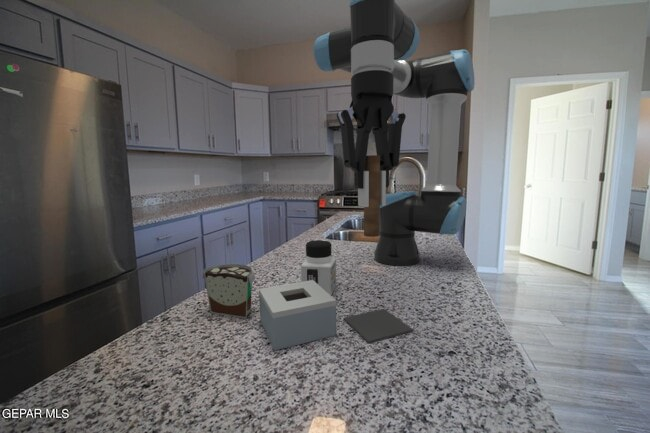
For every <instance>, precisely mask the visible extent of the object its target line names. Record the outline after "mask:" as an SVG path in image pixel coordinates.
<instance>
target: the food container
mask: <svg viewBox="0 0 650 433" xmlns="http://www.w3.org/2000/svg"><path fill="white" fill-rule="evenodd" d="M201 276H202V279H204V281H205V286H206V287H205V288H206V293H207V295H206V296H207V300H208V306H209V312H210V314H215V315H222V316H228V317H232V318H233V317H235V318H239V319H248V318H249V317H250V315H251V313H252V290H253V289H252V286H253V285H252V284H253V283H254V281H255V279H256V277H255V273H254V270H253V269H252V267H251V266H250V265H247V264H242V263H225V264H218V265H213V266H210V267H206V268H204V269H203V271H202V275H201Z"/></svg>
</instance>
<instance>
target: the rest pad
mask: <svg viewBox="0 0 650 433" xmlns="http://www.w3.org/2000/svg"><path fill="white" fill-rule="evenodd" d="M343 320H344V321H345V323H346V324H347V325H349V326H350V328H352V329H353V330H354V332H356V333H357V334H358V336H360V337H361V338H362V339H363V340H364V341H365V342H366V343H367V344H371V343H375V342H379V341H382V340H386V339H390V338H394V337H397V336H401V335H405V334H408V333H412V332H414V329H413V328H412V327H410V326H409V325H407V323H405V322H403V321H402V320H401V319H399V318H398V317H396V316H395V315H393V314H392V313H391V312H389V311H388V310H387V309H385V308H381V309H377V310H372V311H367V312H363V313H362V312H361V313H359V314H354V315H350V316H345V317H343Z"/></svg>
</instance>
